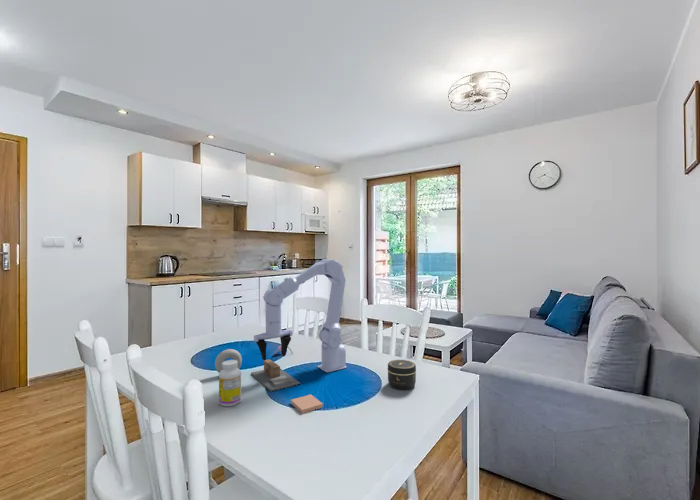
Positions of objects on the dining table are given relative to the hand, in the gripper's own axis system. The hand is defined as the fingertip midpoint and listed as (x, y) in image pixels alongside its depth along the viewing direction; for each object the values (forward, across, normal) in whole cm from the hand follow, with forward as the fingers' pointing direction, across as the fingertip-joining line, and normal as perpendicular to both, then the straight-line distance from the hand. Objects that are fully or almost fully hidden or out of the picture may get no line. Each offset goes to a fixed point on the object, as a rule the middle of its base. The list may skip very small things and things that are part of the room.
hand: (273, 357), depth 129 cm
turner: (+7, 0, +1) cm, 7 cm away
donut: (+8, +13, -13) cm, 20 cm away
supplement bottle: (+8, +19, +11) cm, 23 cm away
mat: (+8, 0, +1) cm, 8 cm away
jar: (+8, -35, +32) cm, 48 cm away
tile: (+7, 0, +23) cm, 24 cm away
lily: (+8, -15, -25) cm, 31 cm away
